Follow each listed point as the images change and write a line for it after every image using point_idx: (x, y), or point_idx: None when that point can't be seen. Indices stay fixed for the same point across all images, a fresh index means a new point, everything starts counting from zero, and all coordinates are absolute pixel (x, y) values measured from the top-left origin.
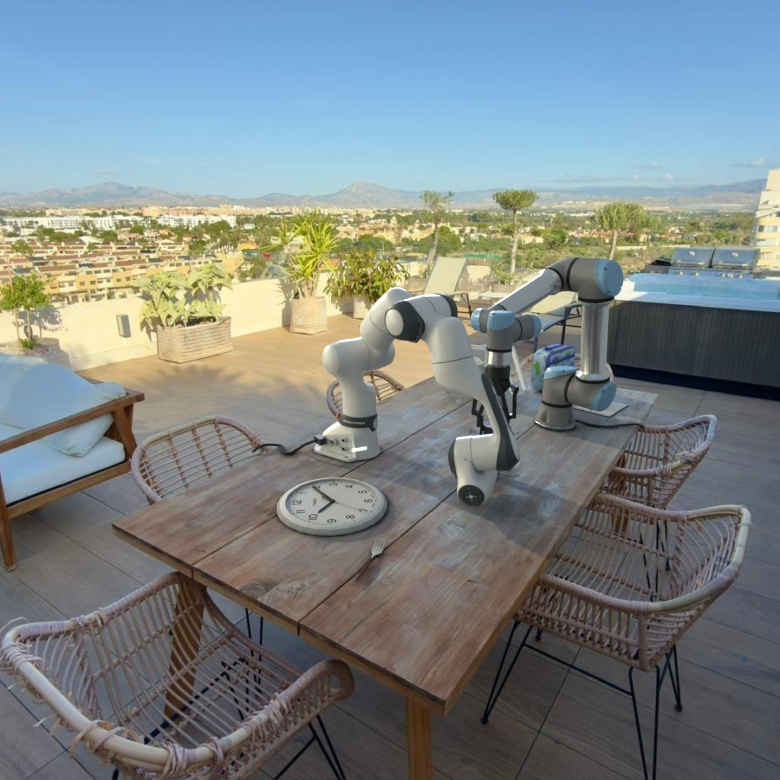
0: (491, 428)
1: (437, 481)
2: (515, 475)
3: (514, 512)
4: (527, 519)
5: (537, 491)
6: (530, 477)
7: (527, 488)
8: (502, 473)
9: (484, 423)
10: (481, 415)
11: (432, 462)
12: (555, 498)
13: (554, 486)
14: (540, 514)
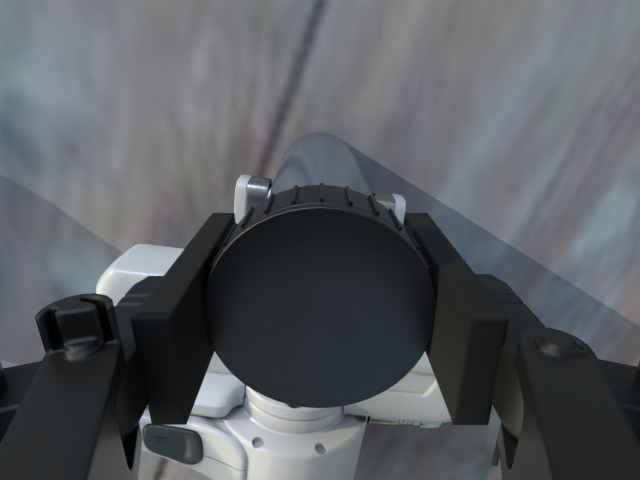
0: (311, 401)
1: None
2: (446, 421)
3: (414, 433)
4: (450, 457)
5: (524, 286)
6: (522, 162)
7: (486, 271)
8: (386, 424)
9: (221, 316)
10: (134, 323)
11: (14, 114)
12: (582, 322)
13: (613, 225)
14: (497, 426)
